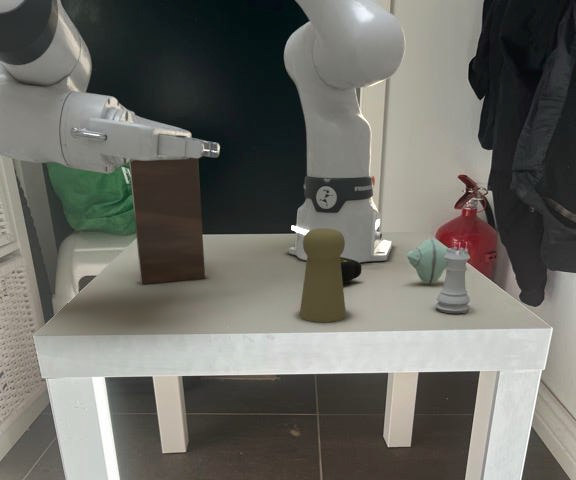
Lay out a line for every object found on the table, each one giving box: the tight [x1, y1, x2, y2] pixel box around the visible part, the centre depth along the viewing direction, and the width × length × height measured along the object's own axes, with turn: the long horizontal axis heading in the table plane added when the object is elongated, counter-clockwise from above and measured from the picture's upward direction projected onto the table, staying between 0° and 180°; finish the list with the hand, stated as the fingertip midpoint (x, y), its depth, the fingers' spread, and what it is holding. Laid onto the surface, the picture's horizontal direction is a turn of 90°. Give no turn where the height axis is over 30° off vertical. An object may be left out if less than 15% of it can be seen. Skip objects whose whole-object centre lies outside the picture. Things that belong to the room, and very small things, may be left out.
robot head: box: [406, 238, 448, 285], centre depth 97 cm, size 8×4×7 cm, turn 94°
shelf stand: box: [128, 157, 206, 285], centre depth 102 cm, size 11×10×20 cm
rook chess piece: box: [435, 247, 471, 315], centre depth 84 cm, size 4×4×8 cm
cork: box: [299, 228, 347, 323], centre depth 81 cm, size 6×6×11 cm
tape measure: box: [340, 257, 362, 284], centre depth 99 cm, size 7×7×4 cm
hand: (211, 150), depth 77 cm, fingers open, 8 cm apart
